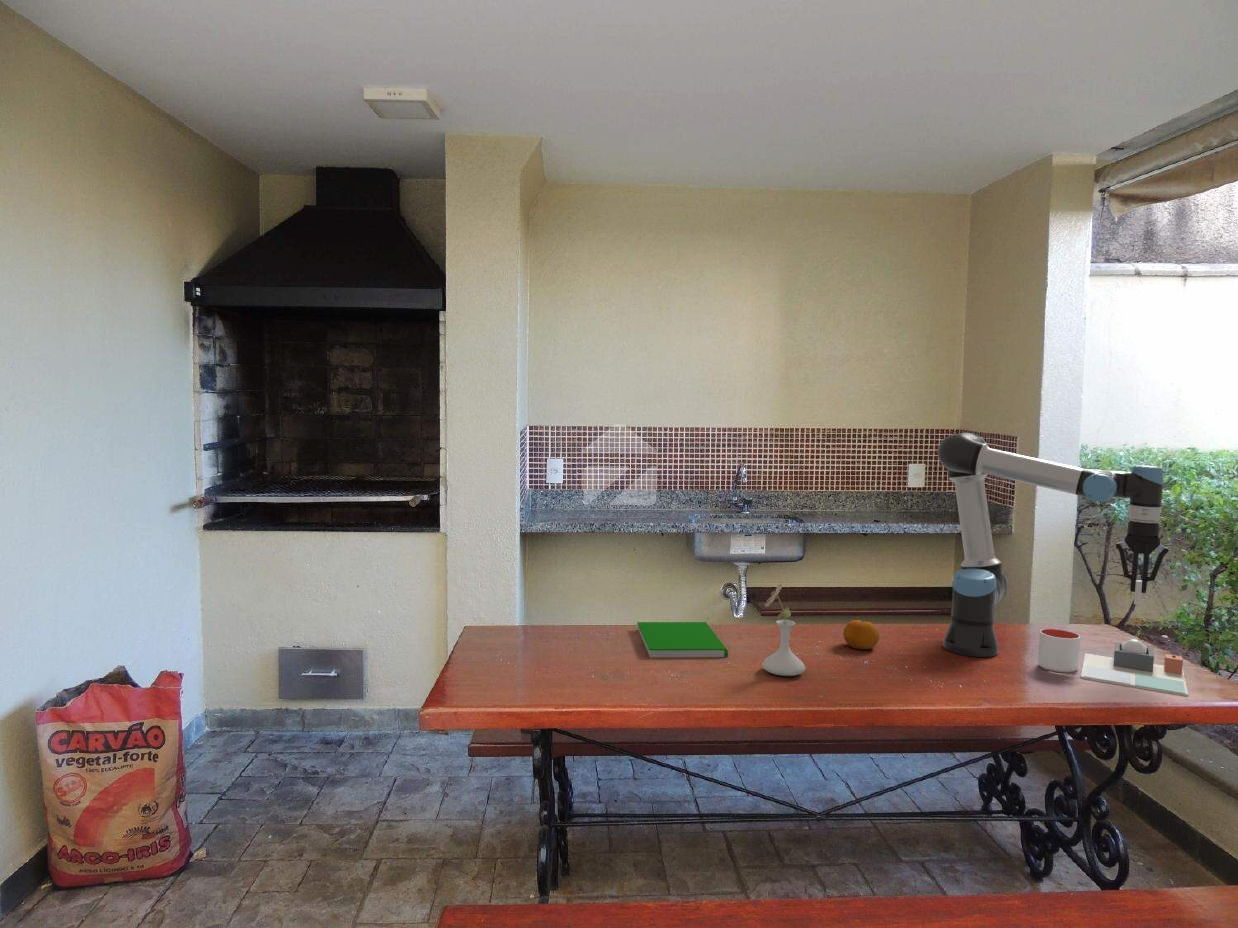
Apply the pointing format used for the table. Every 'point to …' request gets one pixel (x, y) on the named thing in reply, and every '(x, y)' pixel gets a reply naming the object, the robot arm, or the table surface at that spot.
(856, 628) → the fruit
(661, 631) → the book
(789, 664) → the flower in vase
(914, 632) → the table surface
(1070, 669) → the cup
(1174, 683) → the game board
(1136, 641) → the dome button
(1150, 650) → the dome housing
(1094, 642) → the table surface
